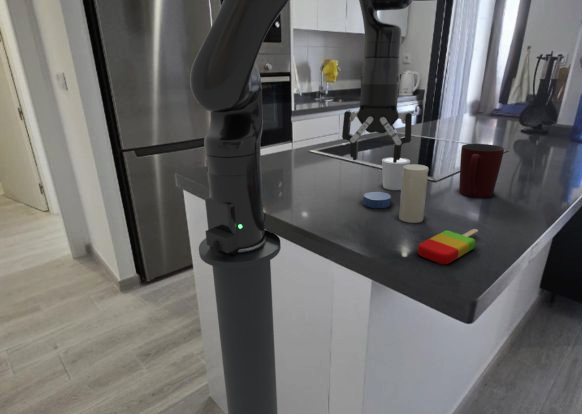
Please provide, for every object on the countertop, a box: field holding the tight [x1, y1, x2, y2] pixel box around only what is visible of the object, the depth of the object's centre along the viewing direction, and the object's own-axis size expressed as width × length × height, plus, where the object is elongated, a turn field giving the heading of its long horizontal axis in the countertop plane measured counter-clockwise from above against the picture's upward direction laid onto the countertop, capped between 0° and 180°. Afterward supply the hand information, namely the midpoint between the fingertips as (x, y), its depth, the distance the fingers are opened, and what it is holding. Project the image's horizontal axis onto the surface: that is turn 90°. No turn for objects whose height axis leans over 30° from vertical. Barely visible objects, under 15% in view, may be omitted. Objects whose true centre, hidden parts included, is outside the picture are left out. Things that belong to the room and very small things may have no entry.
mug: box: [458, 143, 505, 199], centre depth 88 cm, size 12×9×11 cm
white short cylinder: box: [381, 156, 411, 191], centre depth 95 cm, size 7×7×7 cm
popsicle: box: [417, 228, 479, 265], centre depth 64 cm, size 6×15×2 cm, turn 131°
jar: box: [398, 163, 430, 224], centre depth 75 cm, size 5×5×11 cm
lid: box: [362, 191, 392, 209], centre depth 85 cm, size 6×6×2 cm
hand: (374, 160), depth 82 cm, fingers open, 8 cm apart
